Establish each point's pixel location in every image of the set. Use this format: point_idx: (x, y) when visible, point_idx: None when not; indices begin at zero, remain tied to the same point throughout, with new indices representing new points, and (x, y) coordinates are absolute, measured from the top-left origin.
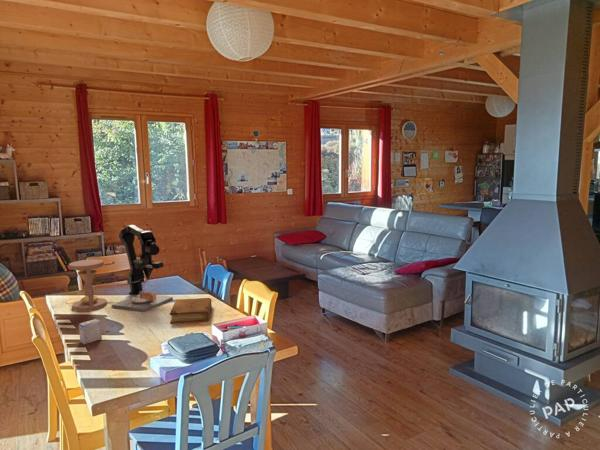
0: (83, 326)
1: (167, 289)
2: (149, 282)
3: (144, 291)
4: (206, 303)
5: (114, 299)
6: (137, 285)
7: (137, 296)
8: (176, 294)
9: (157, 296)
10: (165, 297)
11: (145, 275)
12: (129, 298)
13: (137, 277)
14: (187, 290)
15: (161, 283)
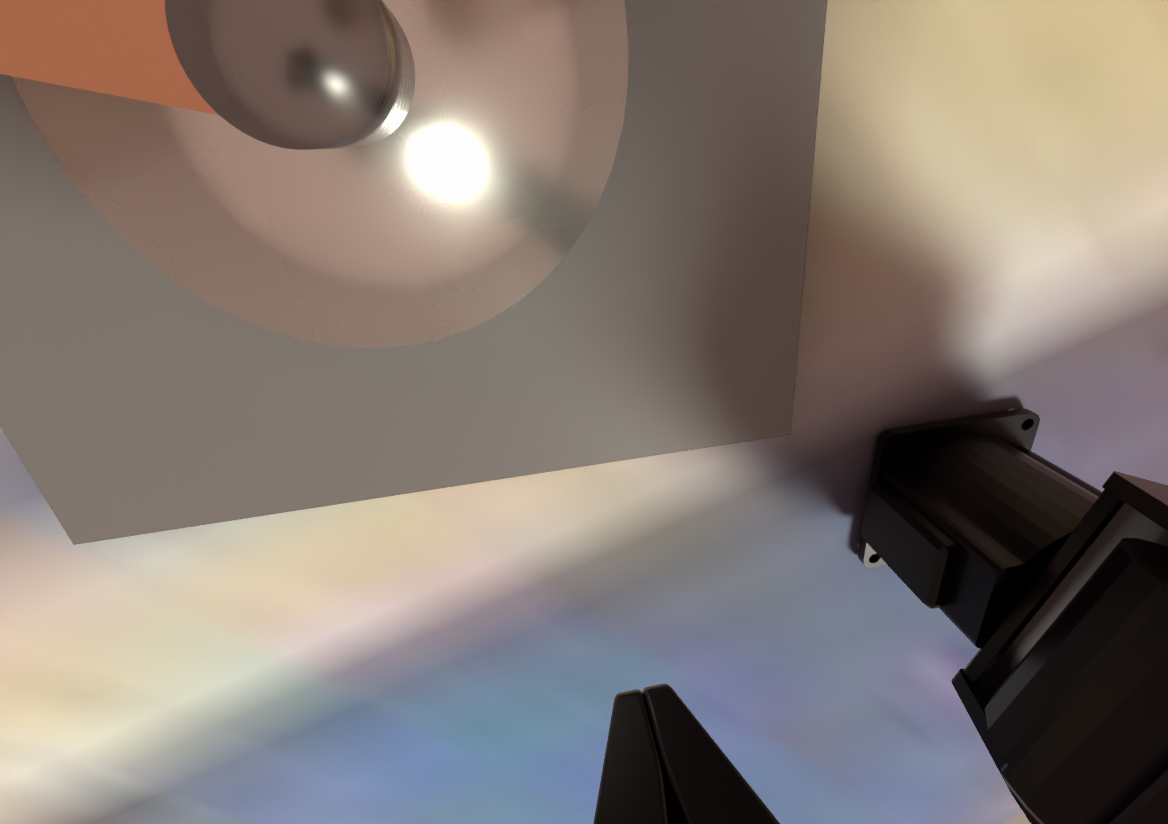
0: None
1: None
2: None
3: (192, 58)
4: None
5: (1110, 36)
6: (982, 542)
7: (541, 68)
8: (315, 678)
9: (358, 439)
10: (155, 465)
11: (750, 790)
12: (785, 80)
13: (1126, 671)
14: (347, 816)
15: (847, 803)
